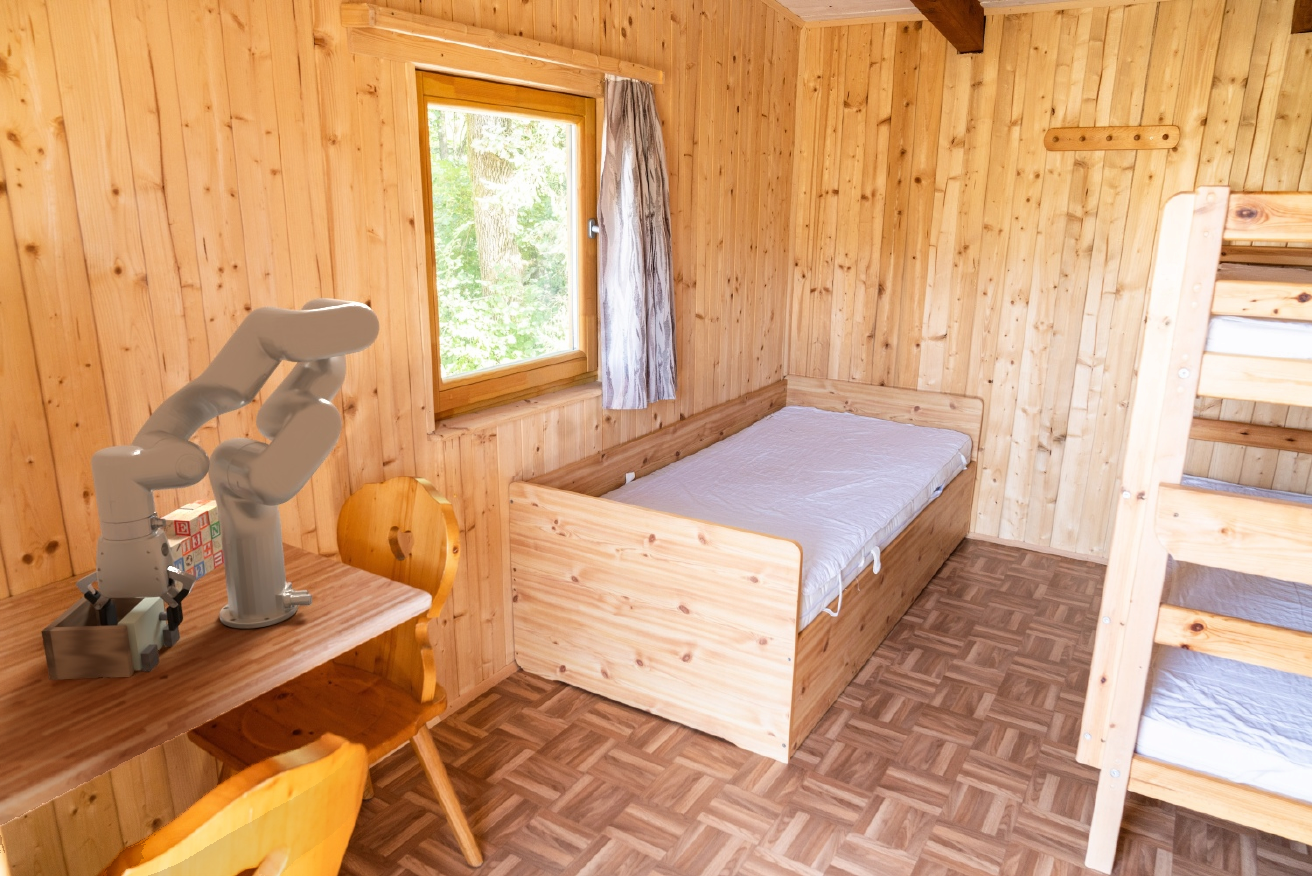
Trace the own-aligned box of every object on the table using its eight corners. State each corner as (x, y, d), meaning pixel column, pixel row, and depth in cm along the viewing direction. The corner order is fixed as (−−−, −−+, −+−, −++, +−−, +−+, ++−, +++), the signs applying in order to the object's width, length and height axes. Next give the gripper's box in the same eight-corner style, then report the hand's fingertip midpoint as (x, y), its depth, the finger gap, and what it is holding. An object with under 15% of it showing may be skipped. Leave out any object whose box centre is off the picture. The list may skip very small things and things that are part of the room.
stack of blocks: (165, 601, 163) (157, 537, 160) (133, 599, 163) (124, 535, 160) (233, 557, 183) (227, 499, 180) (204, 555, 184) (197, 498, 181)
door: (174, 639, 149) (168, 595, 147) (147, 670, 139) (141, 622, 137) (153, 640, 148) (147, 595, 146) (124, 671, 139) (117, 623, 137)
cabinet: (183, 633, 151) (177, 589, 149) (146, 676, 137) (140, 628, 135) (95, 636, 149) (88, 591, 147) (49, 679, 136) (41, 631, 134)
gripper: (197, 517, 143) (209, 616, 147) (81, 519, 141) (97, 619, 145) (178, 534, 135) (191, 637, 140) (56, 536, 134) (72, 641, 138)
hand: (143, 628), depth 142 cm, fingers open, 9 cm apart
